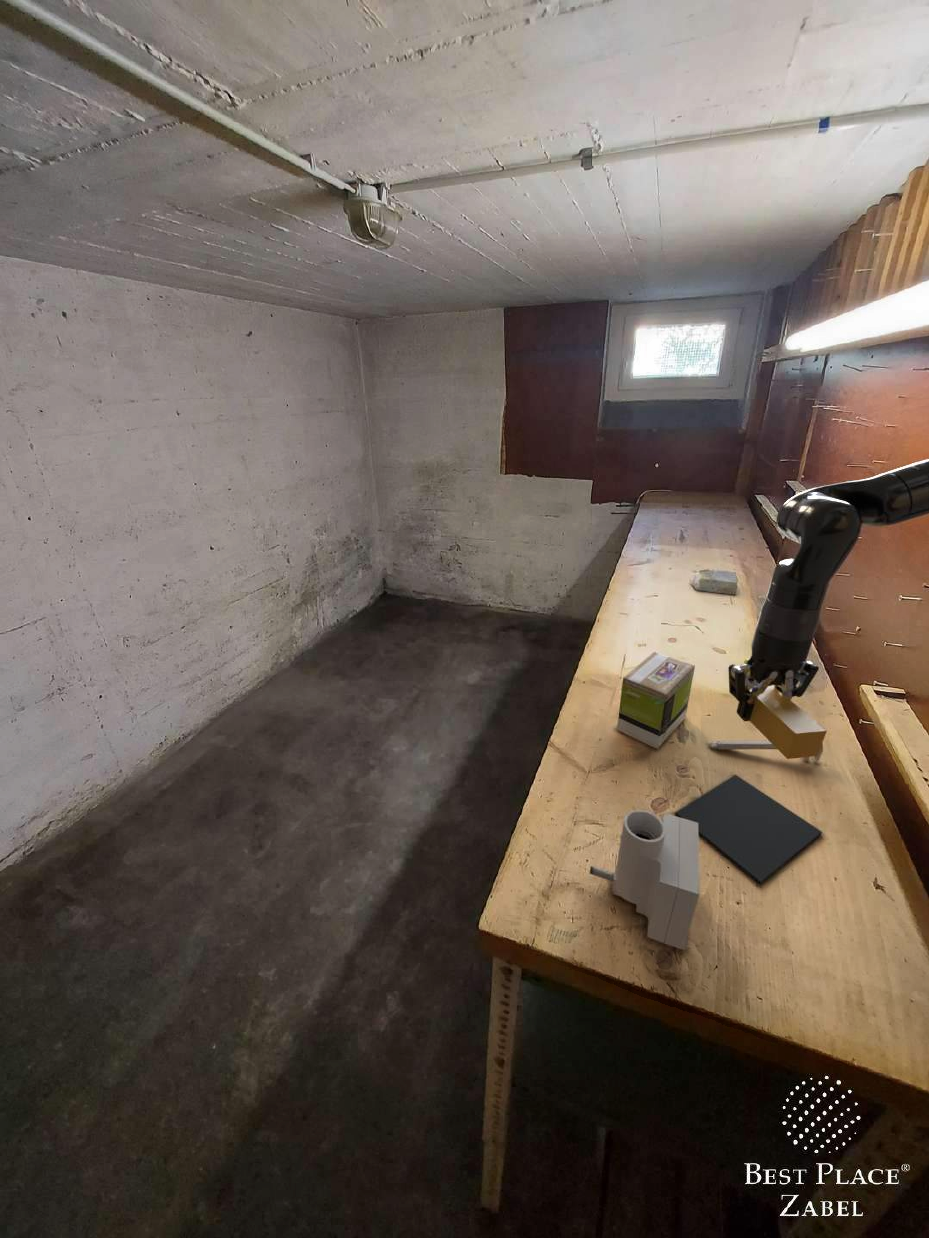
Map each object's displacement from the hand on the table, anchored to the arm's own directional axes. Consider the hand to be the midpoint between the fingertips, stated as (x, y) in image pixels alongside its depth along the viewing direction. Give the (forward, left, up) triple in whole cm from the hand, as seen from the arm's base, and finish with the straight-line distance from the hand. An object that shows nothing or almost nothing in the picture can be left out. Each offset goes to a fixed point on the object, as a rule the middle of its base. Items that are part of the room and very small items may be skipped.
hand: (758, 716), depth 81 cm
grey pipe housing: (+29, +3, -21) cm, 36 cm away
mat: (+2, +4, -20) cm, 21 cm away
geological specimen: (-90, -67, -21) cm, 114 cm away
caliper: (-18, -5, -21) cm, 28 cm away
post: (+4, +9, +3) cm, 10 cm away
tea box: (-6, -24, -21) cm, 32 cm away
